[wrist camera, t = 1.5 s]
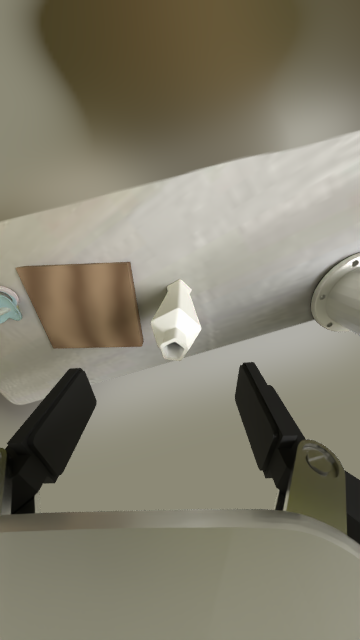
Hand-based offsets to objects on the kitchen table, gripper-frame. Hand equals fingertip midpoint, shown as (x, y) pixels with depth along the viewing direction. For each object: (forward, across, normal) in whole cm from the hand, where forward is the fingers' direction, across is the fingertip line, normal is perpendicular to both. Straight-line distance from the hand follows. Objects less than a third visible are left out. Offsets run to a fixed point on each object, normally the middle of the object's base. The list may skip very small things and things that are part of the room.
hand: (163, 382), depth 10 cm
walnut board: (+18, +14, +2) cm, 23 cm away
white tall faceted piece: (+18, -1, 0) cm, 18 cm away
